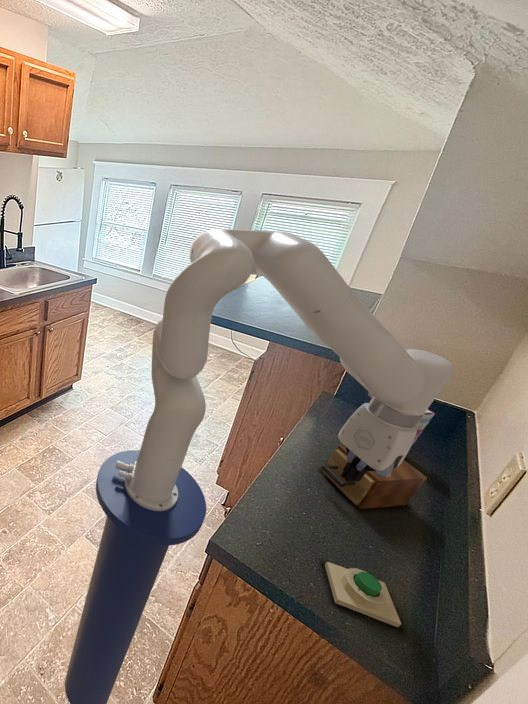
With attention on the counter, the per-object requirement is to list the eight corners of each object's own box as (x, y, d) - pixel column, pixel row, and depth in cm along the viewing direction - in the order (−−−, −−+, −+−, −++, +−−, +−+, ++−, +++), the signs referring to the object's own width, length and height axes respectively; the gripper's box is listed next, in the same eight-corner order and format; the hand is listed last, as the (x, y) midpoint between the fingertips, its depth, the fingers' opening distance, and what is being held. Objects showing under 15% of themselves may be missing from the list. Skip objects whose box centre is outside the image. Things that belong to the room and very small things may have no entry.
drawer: (339, 505, 91) (355, 482, 87) (307, 472, 100) (320, 450, 96) (397, 501, 94) (415, 479, 90) (361, 469, 102) (375, 447, 99)
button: (357, 591, 71) (362, 586, 70) (351, 573, 74) (355, 568, 73) (380, 599, 70) (385, 594, 69) (373, 581, 73) (377, 576, 72)
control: (334, 603, 71) (342, 594, 69) (324, 564, 78) (330, 555, 76) (398, 627, 68) (407, 618, 67) (381, 585, 75) (389, 576, 73)
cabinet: (359, 509, 91) (379, 480, 87) (322, 471, 101) (338, 444, 97) (405, 505, 94) (427, 478, 89) (364, 469, 104) (382, 443, 99)
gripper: (344, 389, 79) (308, 454, 87) (417, 439, 66) (365, 509, 74) (374, 388, 80) (335, 452, 89) (450, 437, 67) (396, 506, 76)
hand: (349, 478), depth 82 cm, fingers closed
